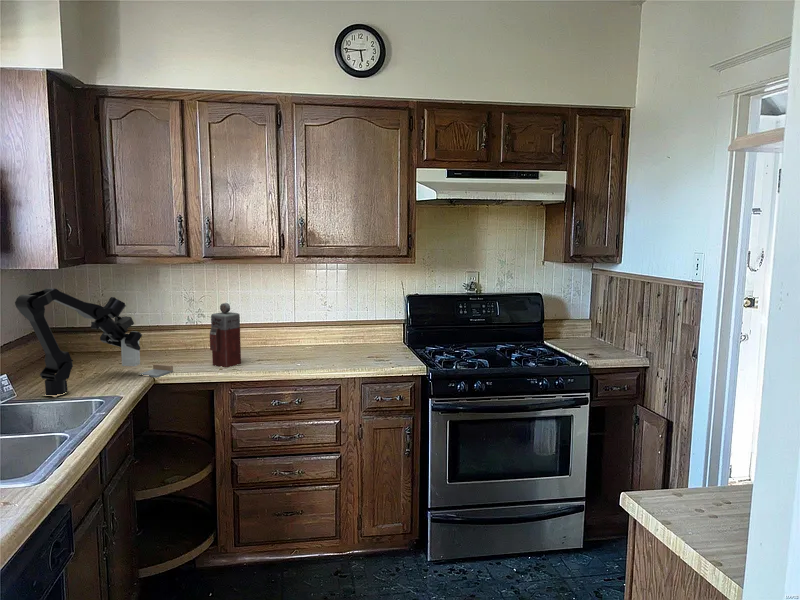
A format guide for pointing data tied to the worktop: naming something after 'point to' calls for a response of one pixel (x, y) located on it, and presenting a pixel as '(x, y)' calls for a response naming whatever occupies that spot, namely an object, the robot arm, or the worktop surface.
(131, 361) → the skincare box
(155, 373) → the plate
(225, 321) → the red french press
